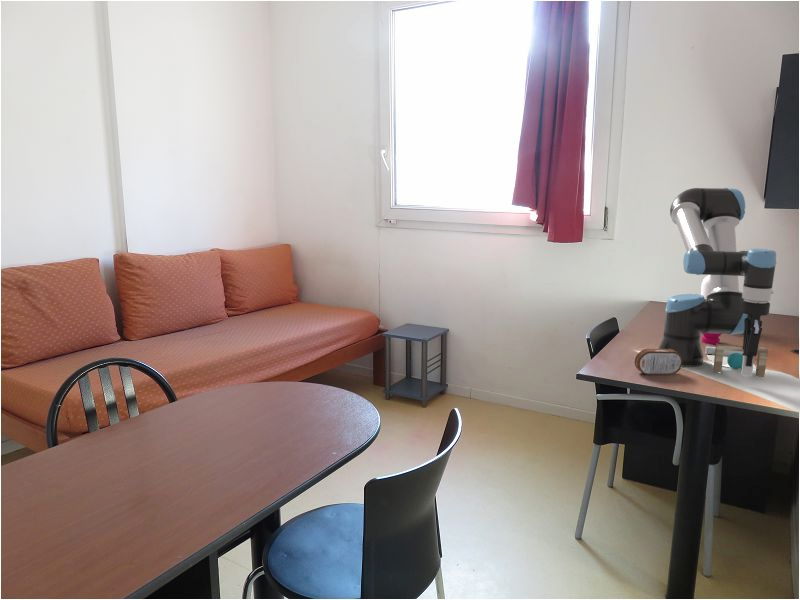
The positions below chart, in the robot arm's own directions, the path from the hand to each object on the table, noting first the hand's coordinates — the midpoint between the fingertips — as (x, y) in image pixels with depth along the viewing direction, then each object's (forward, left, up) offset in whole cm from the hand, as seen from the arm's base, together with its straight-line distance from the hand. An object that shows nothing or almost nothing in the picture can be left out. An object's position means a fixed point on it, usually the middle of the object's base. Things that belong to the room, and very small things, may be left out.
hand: (746, 375), depth 188 cm
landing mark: (0, +26, -3) cm, 27 cm away
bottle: (-1, +82, -3) cm, 83 cm away
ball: (0, +18, 0) cm, 19 cm away
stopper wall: (0, +36, -3) cm, 36 cm away
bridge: (0, +12, -3) cm, 13 cm away
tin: (-25, +2, -4) cm, 25 cm away
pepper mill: (-3, +55, -3) cm, 56 cm away
